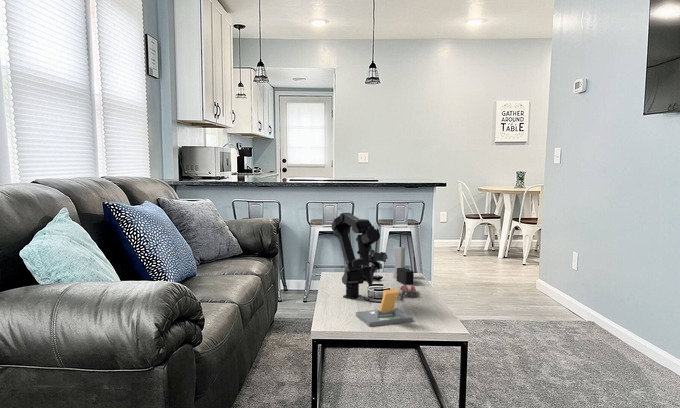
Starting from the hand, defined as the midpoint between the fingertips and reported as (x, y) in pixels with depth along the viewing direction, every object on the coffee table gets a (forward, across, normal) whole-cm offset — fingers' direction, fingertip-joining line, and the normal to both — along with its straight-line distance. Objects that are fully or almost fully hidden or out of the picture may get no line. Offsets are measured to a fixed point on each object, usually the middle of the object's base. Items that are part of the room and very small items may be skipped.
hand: (370, 285), depth 183 cm
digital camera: (-5, +51, +1) cm, 52 cm away
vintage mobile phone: (-9, +59, +7) cm, 61 cm away
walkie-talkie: (+4, +29, -5) cm, 30 cm away
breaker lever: (+13, -6, -6) cm, 16 cm away
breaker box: (+14, -5, -5) cm, 16 cm away
